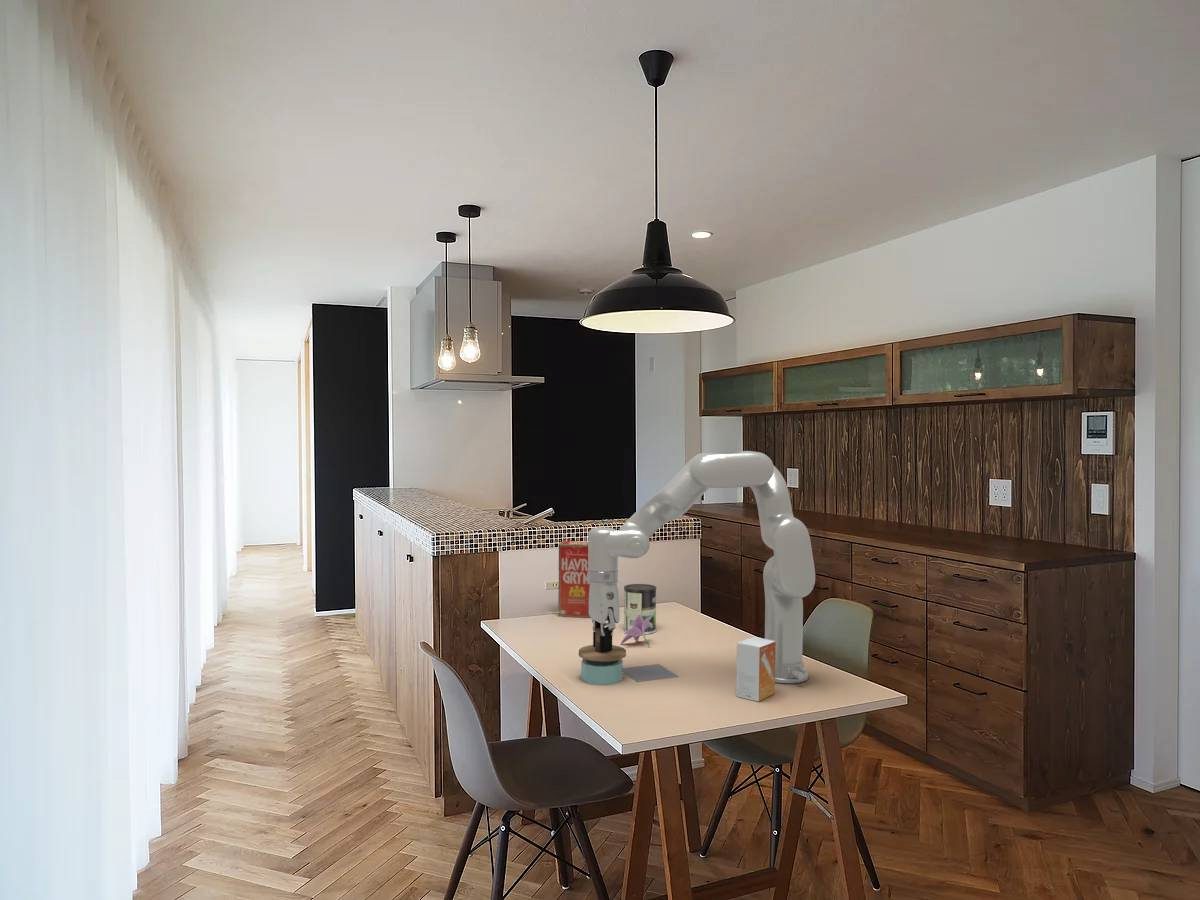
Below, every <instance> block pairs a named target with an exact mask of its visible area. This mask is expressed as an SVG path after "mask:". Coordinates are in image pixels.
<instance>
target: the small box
mask: <svg viewBox="0 0 1200 900" xmlns="http://www.w3.org/2000/svg"><path fill="white" fill-rule="evenodd" d="M775 653H776V641H773V640H768V639H765V638H762V637H759V636H758V637H757V636H752V637H749V638H747V639H743V640H741V641H739V642H737V643H736V684H735V685H736V686H735V687H736V689H735V692H736V693H735V696H736V697H738V698H741V699H746V700H750V701H755V702H761V701H762V700H765V699H767V698H768V697H769V698H770V697H771V696H773V694H774V695H775V693H776V691H775V690H776V688H775V687H776V682H775Z"/></svg>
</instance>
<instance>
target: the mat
mask: <svg viewBox="0 0 1200 900" xmlns="http://www.w3.org/2000/svg"><path fill="white" fill-rule="evenodd" d="M623 674H624V675H626V676H627V677H629V678H630V679H632V680H633V681H635V682H637V683H639V682H640V683H641V682H649V681H656V680H657V681H658V680H666V679H672V678H673V679H674V678H679V677H680V676H679V675H678V674H676V673H674V672H672V671H671V670H669V669H668V668H666V667H664V666H663V665H661V664H659V663H656V664H654V663H653V664H648V665H647V664H646V665H637V666H628V667H623Z"/></svg>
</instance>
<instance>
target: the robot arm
mask: <svg viewBox="0 0 1200 900" xmlns="http://www.w3.org/2000/svg"><path fill="white" fill-rule="evenodd" d="M787 485H788V484H787V483H786V480H785V478H784V476H783V475H782V473H781V472H780V471H779V469H778V468H777V467H776V466H775V465H774V464H773V461H772V459H771V458H770V457H769V456H768V455H766V454H765V453H763V452H759V451H754V450H753V451H752V450H742V451H740V452H737V453H710V452H702V453H701V452H700V453H698V454H696V455H695V456H693V457H692V458H691V459H690V460H689V461H688V462H687V463H685V464H684V466H683V467H682V468H681V469H680V470H679V471H678V472H677V473H676V474H675V475H674V476H673V477H672V478H671V479H670V480H669V481H668V482H667V483H666V484H665V485H664V486H663V487H662V488H661V489H660V490H659V491H657V493H655V494H654V495H653V496H652V497H651V498H650V499H649V500H647V501H646V502H645V503H644V504H643V505H642V506H641V507H639V508H638V509H637V510H636V512H634V513H633V514H632V515H631V516H630V517H629V518H628V519H627V520H626V522H624V523H623V524H622V525H621V526H620V527H619V529H618V530H617V529H615V528H612V527H605V526H604V527H595V528H594V527H593V528H591V529H590V530H589V531H588V538H587V539H588V541H587V542H588V583H589V584H590V588H589V616H590V617H591V618H590V619H591V620H592V621H591V622H592V640H593V641H592V645H593V647H595V629H596V628H600V627H601V636H600V651H601V652H606V651H612V645H613V636H614V635H613V634H614V630H615V629H616V628H617V627H616V624H619V622H620V619H621V618H620V616H621V615H620V612H621V611H620V597H619V588H618V582H619V577H618V575H619V557H620V558H626V559H627V558H628V559H640V558H643V557H644V556H645V555H646V554H648V551H649V549H650V546H651V544H650V542H651V541H650V538H651V537H652V536H653V535H654V534H655V533H656V532H657V531H658V530H659V529H661V527H663V526H664V525H666V524H667V523H669V522H670V521H673V520H676V519H678V518H680V517H681V516H683V515H685V514H686V513H687V512H688V511H689V510H690V509H691V507H693V506H694V505H695V503H696V502H697V501H698V500H699V499H700V498H701V497H702V496H703V495H705V493H706V492H707V491H708V490H709V489H731V488H733V489H734V488H750V489H751V490H752V492H753V495H754V497H755V501H756V505H757V506H756V507H757V511H758V518H759V525H760V536H761V539H762V541H763V543H764V544H765V546H767V547H768V548H770V549H771V550H773V556H771V557H770V558H768V560H767V561H766V563H765V565H764V567H763V572H762V573H763V574H762V577H763V578H762V580H763V589H764V602H765V603H764V604H765V605H764V606H765V607H764V608H765V610H764V639H768V640H773V641H776V653H775V683H779V684H799V683H803V682H805V681H807V680H808V679H809V674H810V672H809V671H808V670H806V669H805V663H804V662H803V645H804V644H803V639H804V638H803V637H804V635H803V634H804V633H803V631H804V629H803V625H804V624H803V623H804V602H803V601H804V600H803V598H805V597H807V596H808V595H809V594H810V593H811V592H812V591H813V590H814V586H815V584H816V569H815V562H814V557H813V550H812V542H811V536H810V534H809V531H808V528H807V527H806V525H805V524H804V523H803V521H801V520H800V519H799V518H796V517H794V513H793V507H792V502H791V498H790V492H789V488H788V486H787Z"/></svg>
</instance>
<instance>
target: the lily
mask: <svg viewBox="0 0 1200 900" xmlns="http://www.w3.org/2000/svg"><path fill="white" fill-rule="evenodd" d="M652 616H653V615H651V616H650V617H648V618H647V619H645V620H643V618H642V616H641V615H638V616H637V617H636V619H635V621H634V623H633V628H631V629H629V630H627V631H626V632H625V631H624V635H625V636H624V638H623V639H622V640H621V642H620V645H623V644H625V642H627V641H629V640H631V639H632V638H633V639H634V641H636V642H638V641H639V639H640V637H643V638H644V640H645V642H646V644H647V646H648V648H651V647H650V644H649V642H648V640H647V638H646V635H645V634H644V631H645V629H646V628H648V627H650V626H651V625H652V623H650V622H649V620H650V619H651V618H652ZM620 645H619V646H620Z"/></svg>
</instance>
